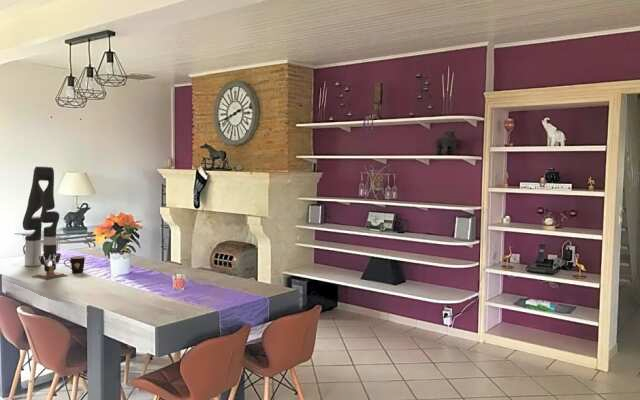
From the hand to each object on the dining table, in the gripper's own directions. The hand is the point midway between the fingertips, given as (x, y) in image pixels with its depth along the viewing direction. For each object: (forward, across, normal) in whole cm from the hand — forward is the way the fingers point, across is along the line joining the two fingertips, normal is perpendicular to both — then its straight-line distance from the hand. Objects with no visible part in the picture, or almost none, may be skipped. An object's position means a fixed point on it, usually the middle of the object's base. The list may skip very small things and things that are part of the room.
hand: (50, 270), depth 328 cm
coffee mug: (+4, -16, +3) cm, 17 cm away
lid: (+3, 0, 0) cm, 3 cm away
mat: (+4, 0, 0) cm, 4 cm away
